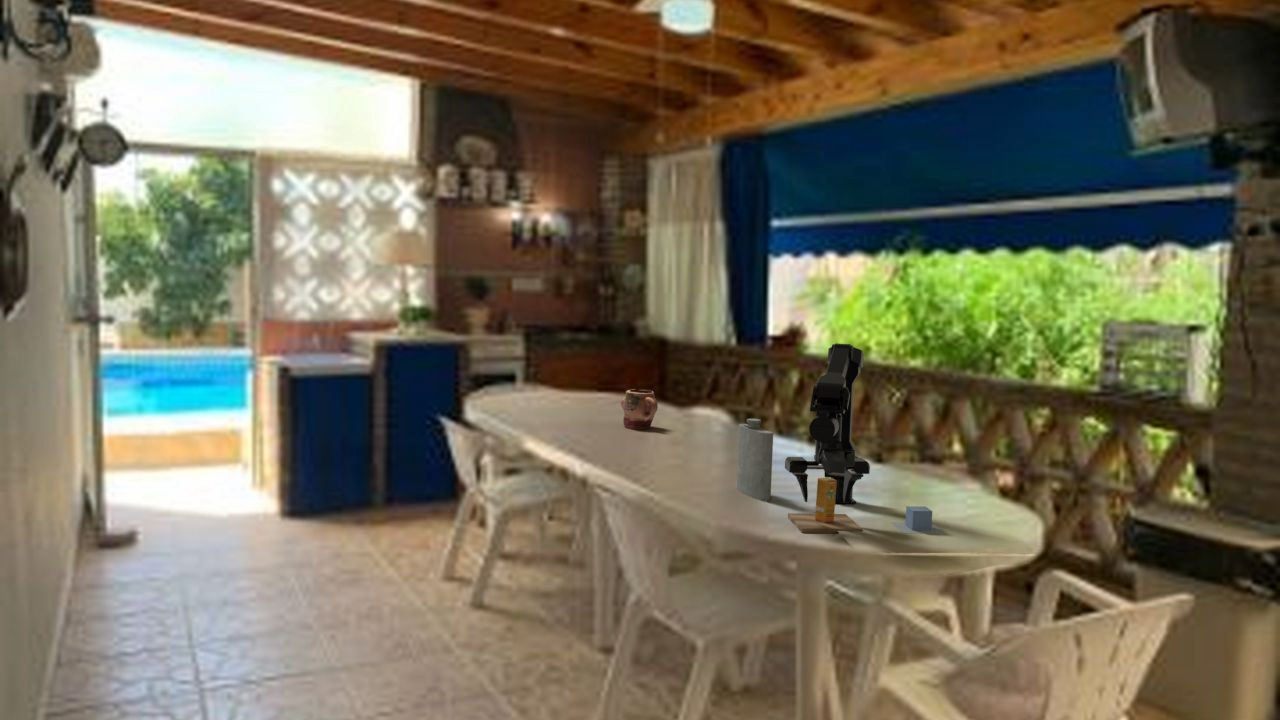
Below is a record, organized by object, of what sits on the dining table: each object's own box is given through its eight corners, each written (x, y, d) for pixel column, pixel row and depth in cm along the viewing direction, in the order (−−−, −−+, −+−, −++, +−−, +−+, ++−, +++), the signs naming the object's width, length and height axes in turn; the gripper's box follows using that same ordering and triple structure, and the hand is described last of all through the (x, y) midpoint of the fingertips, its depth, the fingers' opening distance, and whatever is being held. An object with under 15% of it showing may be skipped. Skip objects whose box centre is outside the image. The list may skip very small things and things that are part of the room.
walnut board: (787, 517, 241) (788, 513, 241) (845, 518, 242) (845, 513, 242) (801, 532, 227) (801, 528, 227) (862, 533, 228) (862, 528, 228)
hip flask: (772, 500, 259) (775, 423, 257) (758, 501, 257) (761, 423, 256) (745, 487, 274) (748, 414, 272) (731, 488, 272) (734, 414, 270)
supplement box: (824, 523, 232) (826, 480, 231) (814, 520, 235) (816, 477, 234) (835, 521, 234) (837, 479, 233) (825, 518, 237) (827, 476, 236)
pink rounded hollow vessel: (669, 430, 367) (671, 393, 365) (642, 433, 359) (643, 394, 358) (637, 423, 383) (638, 386, 381) (610, 425, 375) (611, 388, 374)
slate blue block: (905, 525, 234) (906, 506, 234) (924, 525, 235) (925, 506, 234) (912, 530, 230) (913, 510, 229) (931, 530, 230) (932, 511, 230)
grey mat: (889, 524, 237) (890, 522, 237) (931, 525, 238) (931, 522, 238) (904, 535, 227) (904, 533, 227) (947, 536, 228) (947, 533, 228)
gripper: (796, 440, 224) (793, 509, 225) (878, 442, 226) (875, 510, 227) (785, 432, 235) (782, 498, 236) (864, 434, 237) (860, 499, 238)
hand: (825, 501), depth 234 cm, fingers open, 9 cm apart
